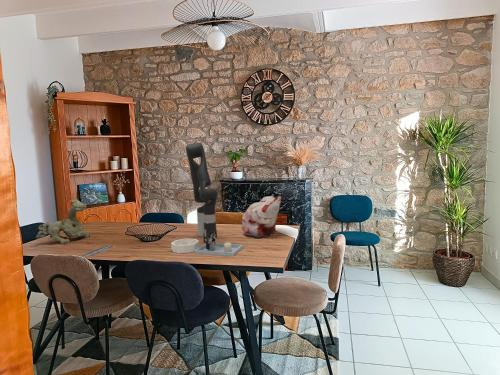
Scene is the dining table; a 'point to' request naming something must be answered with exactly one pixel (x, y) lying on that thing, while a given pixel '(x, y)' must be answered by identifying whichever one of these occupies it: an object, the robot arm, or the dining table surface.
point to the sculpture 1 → (65, 225)
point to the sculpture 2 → (261, 217)
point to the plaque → (97, 251)
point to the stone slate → (212, 246)
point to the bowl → (185, 245)
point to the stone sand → (227, 247)
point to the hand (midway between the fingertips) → (210, 247)
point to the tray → (219, 250)
